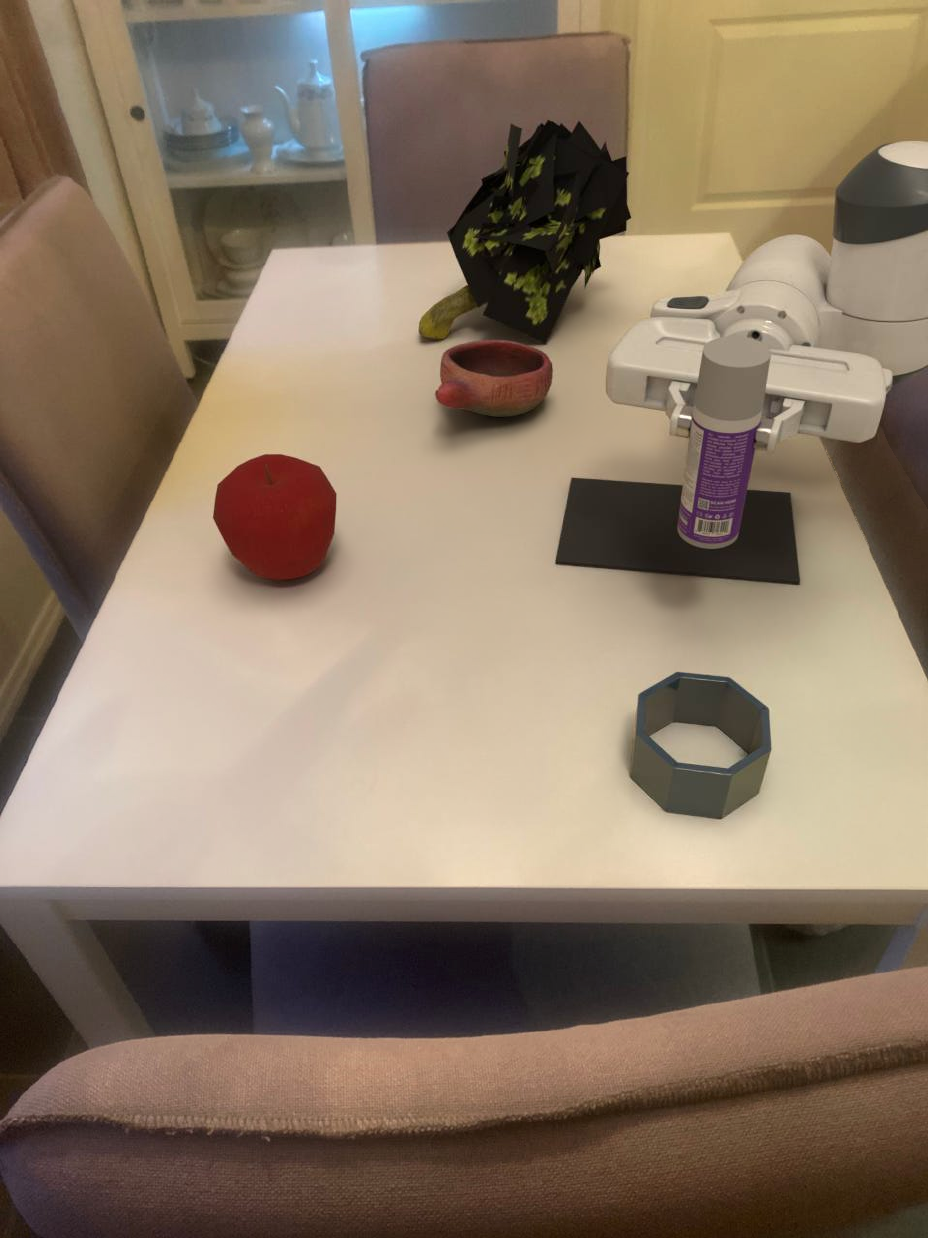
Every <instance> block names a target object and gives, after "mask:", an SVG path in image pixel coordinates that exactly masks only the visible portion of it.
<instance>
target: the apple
mask: <svg viewBox="0 0 928 1238" xmlns="http://www.w3.org/2000/svg"><path fill="white" fill-rule="evenodd" d="M336 516H337V491H335V488H334V487H333V485H332V483H331V482H330V480H329V478H328V477H327V475H326V474H325V472H324V471H323V470H322V468H321V466H319V465H316V464H314V463H311V462H309V461H307V460H303V459H300V458H297V457H295V456H290V455H286V454H282V453H265V454H262V455H259V456H255V457H253V458H250V459H248V460H246V461H244V462H242V463H241V464H239V465H237V466H236V467H235V468H233V470H231V471H230V472H229V474H227V475H226V476H225V477H224V478H223V479H222V480H220V482H219V483H217V487H216V492H215V497H214V505H213V514H212V519H213V522H214V523H215V526H216V528H217V530H218V531H219V534H220V535H221V538H222V539H223V541H224V543H225V545H226V546H227V549H228V550H229V552H230V554H231V556H233V558H234V559H236V560H237V561H238V562H240V564H241V565H243V566H244V567H245V568H247V570H248V571H250V572H251V573H253V574H255V575H257V576H259V577H261V578H265V579H269V580H270V579H271V580H274V581H281V580H283V581H284V580H293V579H297V578H301V577H305V576H308V575H309V574H310V573H312V572H313V571H315V570H317V569H318V568H320V566H321V565H322V563H323V562H324V561H325V559H326V557H327V554H328V551H329V548H330V546H331V543H332V540H333V538H334V535H335V529H336Z"/></svg>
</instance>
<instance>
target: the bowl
mask: <svg viewBox="0 0 928 1238" xmlns="http://www.w3.org/2000/svg"><path fill="white" fill-rule="evenodd" d="M439 367H440V368H439V376H440V377H439V378H440V382H441V384H440V385H439V386H438V388H437V389H436V390H435V393H434V395H435V399H436V401H437V403H439V404H440V405H442V406H443V407H446V408H450V409H454V410H465V411H470V412H472V413H475V414H479V415H483V416H488V417H500V418H501V417H502V418H506V417H515V416H519V415H522V414H525V413H528V412H530V411H532V410H533V409H535V408H536V407H537V406H538V405H539V404H541V403H542V402H543V400H544V399H545V398H546V397H547V395H548V394H549V392H550V388H551V386H552V383H553V377H554V376H553V372H554V368H553V362H552V361H551V360H550V357H549V356H548V354H547V353H546V352H544V351H542V350H540V349H538V348H535V347H533V346H530V345H527V344H524V343H520V342H516V341H512V340H507V339H506V340H505V339H481V340H474V341H468V342H464V343H460V344H457V345H454V346H452V347H450V348H448V349H446V350H445V351H444V352H443V353H442V356H441V358H440V366H439Z"/></svg>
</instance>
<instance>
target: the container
mask: <svg viewBox="0 0 928 1238" xmlns="http://www.w3.org/2000/svg"><path fill="white" fill-rule="evenodd" d="M770 359H771V351H770V349H769V348H768V347H767V346H766V345H765V344H764V343H762V342H760V341H757V340H755V339H751V338H746V337H738V336H728V337H721V338H717V339H714V340H711V341H709V342H708V343H707V344H706V345H705V346H704V347H703V352H702V358H701V364H700V370H699V376H698V382H697V388H696V395H695V401H694V407H693V413H692V422H691V427H690V437H689V438H688V442H687V443H688V444H687V449H686V450H687V451H686V458H685V466H684V472H683V473H684V474H683V481H682V485H683V488H682V495H681V503H680V511H679V518H678V527H677V530H678V533H679V535H680V536H681V538H682V539H684V540H685V541H686V542H688V543H689V544H691V545H694V546H697V547H700V548H707V549H716V548H722V547H726V546H728V545H730V544H732V543H733V542H734V541H735V540H736V539H737V537H738V534H739V530H740V524H741V519H742V514H743V509H744V504H745V499H746V493H747V490H748V489H749V488H748V487H749V483H750V477H751V473H752V467H753V462H754V457H755V451H756V449H753V445H754V442H755V440H756V439H755V435H756V430H757V428H758V426H759V425H760V421H761V414H762V408H763V402H764V396H765V390H766V383H767V377H768V371H769V365H770Z"/></svg>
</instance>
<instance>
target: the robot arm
mask: <svg viewBox="0 0 928 1238" xmlns="http://www.w3.org/2000/svg"><path fill="white" fill-rule="evenodd" d="M833 209H834V210H833V225H832V237H833V241H832V248H831V253H829V252H828V251H827V249H826V248H825V247H824V246H823V245H822V244H821V243H820V242H819V241H817V240H816V239H814V238H813V237H810V236H808V235H803V234H795V233H794V234H785V235H782V236H777V237H775V238H772V239H771V240H769V241H766V242H765V243H763V244H762V245H760V246H758V247H757V248H755V249H754V250H753V251H751V253H750V254H749V255H747V257H746V258H745V259H743V261H742V263H741V264H740V265H739V267H738V268H737V270H736V271H735V273H734V275H733V276H732V278H731V279H730V281H729V283H728V285H727V287H726V288H725V291H721V292H717V293H711V294H707V295H696V296H677V297H662V298H658V299H657V300H655V302H654V303H653V304H652V307H651V311H650V316H649V317H648V318H645V319H642V320H640V321H638V322H637V323H635V324H634V325H633V326H632V327H631V328H629V330H628V331H626V333H625V334H624V335H623V336H622V338H621V339H620V340H619V342H617V344H616V346H615V347H614V348H613V350H612V351H611V353H610V355H609V357H608V360H607V365H606V376H605V394H606V396H607V397H608V399H609V400H610V401H611V402H612V403H613V404H616V405H623V406H630V407H636V408H642V409H648V410H652V411H653V410H654V411H659V412H665V415H666V417H667V418H668V419H669V421H670V424H669V430H668V431H669V432H668V433H669V436H673V437H678V438H679V437H680V438H686V439H689V437H690V427H691V422H692V413H693V407H694V401H695V395H696V388H697V382H698V376H699V370H700V364H701V358H702V352H703V347H704V346H705V345H706V344H707V343H708V342H709V341H711V340H714V339H717V338H721V337H728V336H738V337H746V338H751V339H755V340H757V341H760V342H762V343H764V344H765V345H766V346H767V347H768V348H769V349H770V351H771V359H770V365H769V371H768V377H767V383H766V390H765V396H764V402H763V408H762V414H761V421H760V425H759V426H758V428H757V430H756V435H755V439H756V440H755V442H754V445H753V449H755V451H756V450H757V451H763V452H765V453H766V452H767V453H772V454H775V451H776V448H777V445H778V443H782V442H784V441H786V440H788V439H790V438H792V437H795V436H797V435H798V434H801V435H806V436H813V437H818V438H824V439H825V438H826V439H831V440H837V441H843V442H848V443H855V444H859V443H864V442H867V441H869V440H871V439H873V438H874V437H875V436H876V434H877V432H878V429H879V425H880V421H881V418H882V414H883V411H884V407H885V403H886V397H887V394H888V392H889V391H890V390H891V389H892V387H893V386H895V385H898V384H900V383H902V382H905V381H907V380H910V379H911V378H913V377H915V376H917V375H919V374H920V373H922V372H924V371H925V370H926V369H928V141H922V140H903V141H896V142H888V143H883V144H881V145H879V146H877V147H876V148H875V149H873V150H872V151H870V152H869V153H868V154H866V155H865V156H864V157H863V158H862V159H861V160H859V161H858V163H857V164H855V165H854V166H853V168H851V169H850V171H849V172H847V174H846V175H845V176H844V177H843V179H842V180H841V181H840V182H839V184H838V185H837V186H836V188H835V194H834V208H833Z"/></svg>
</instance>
